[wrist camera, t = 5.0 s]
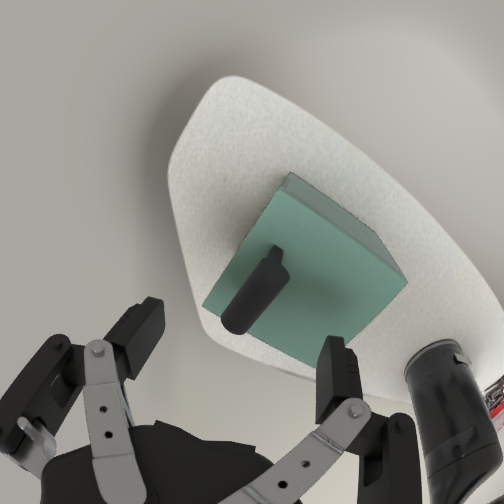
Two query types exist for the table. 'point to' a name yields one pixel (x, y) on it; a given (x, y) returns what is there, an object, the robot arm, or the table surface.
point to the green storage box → (338, 216)
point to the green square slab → (301, 281)
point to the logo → (500, 414)
